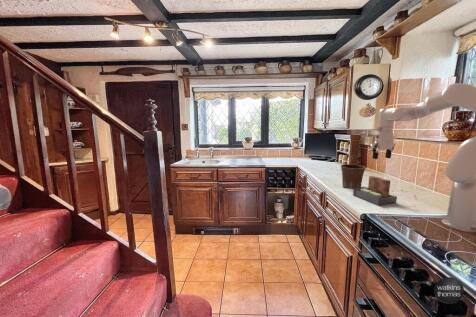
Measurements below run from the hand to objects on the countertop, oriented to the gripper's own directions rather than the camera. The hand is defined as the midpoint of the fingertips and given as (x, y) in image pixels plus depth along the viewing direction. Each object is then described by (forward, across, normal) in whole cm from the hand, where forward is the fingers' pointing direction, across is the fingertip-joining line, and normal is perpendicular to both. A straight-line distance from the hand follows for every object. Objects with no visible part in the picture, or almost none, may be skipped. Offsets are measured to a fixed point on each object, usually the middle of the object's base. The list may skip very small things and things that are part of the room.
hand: (381, 158), depth 133 cm
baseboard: (+27, +17, -4) cm, 32 cm away
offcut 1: (+25, -6, +3) cm, 26 cm away
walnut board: (+25, 0, 0) cm, 25 cm away
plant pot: (+27, +5, +27) cm, 38 cm away
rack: (+26, -3, 0) cm, 26 cm away
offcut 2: (+25, -6, -4) cm, 26 cm away
